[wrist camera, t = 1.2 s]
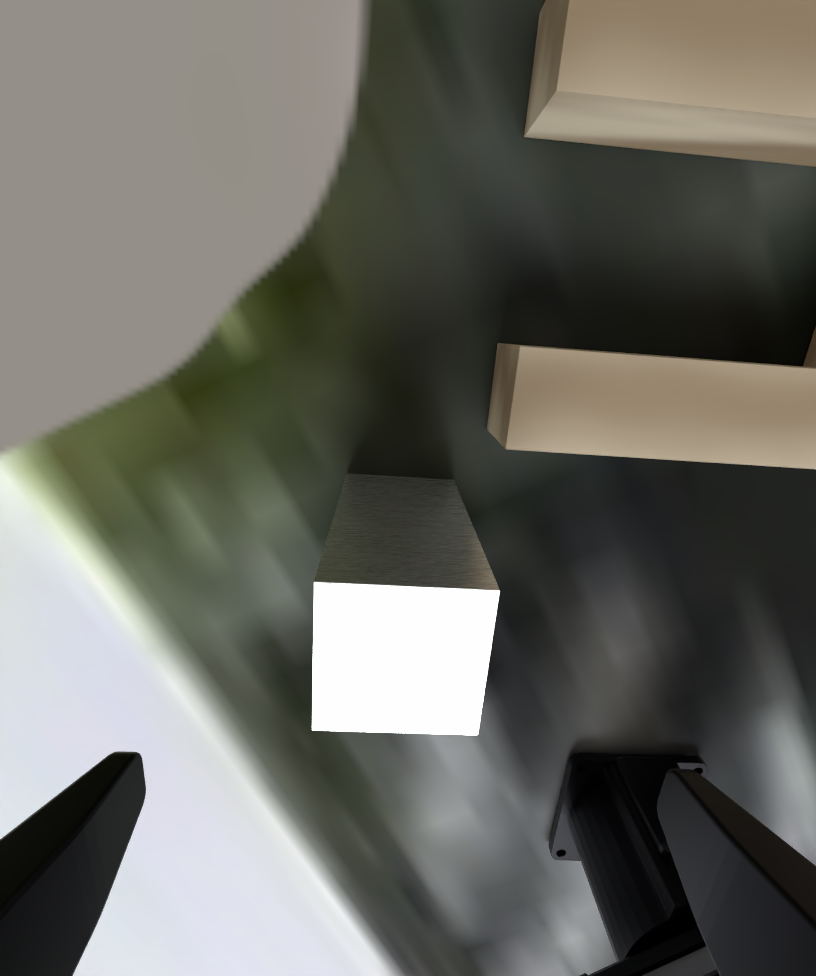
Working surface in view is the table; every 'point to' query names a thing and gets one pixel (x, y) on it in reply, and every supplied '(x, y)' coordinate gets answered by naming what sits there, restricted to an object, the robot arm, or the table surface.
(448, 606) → the grey peg
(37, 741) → the table surface
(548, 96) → the notched board
